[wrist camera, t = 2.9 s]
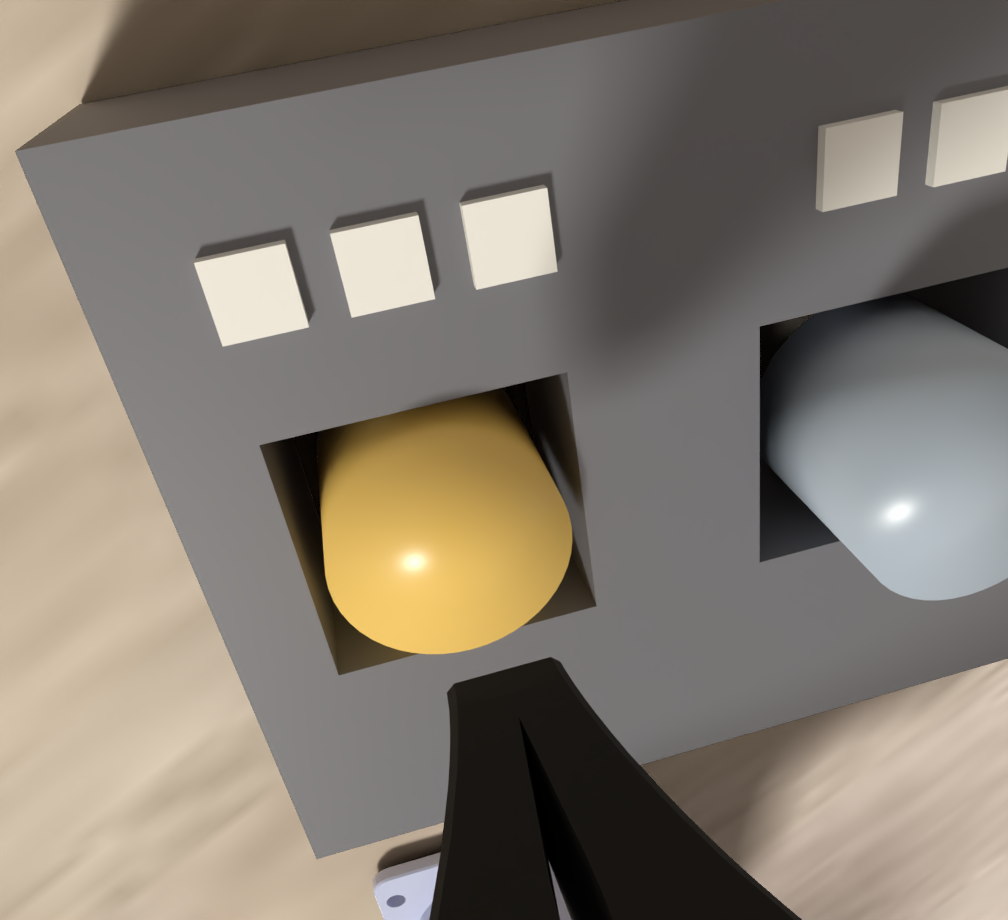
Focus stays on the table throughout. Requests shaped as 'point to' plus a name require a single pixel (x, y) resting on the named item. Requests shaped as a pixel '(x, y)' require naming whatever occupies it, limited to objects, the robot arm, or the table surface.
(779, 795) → the table surface
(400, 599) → the button three
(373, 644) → the button panel
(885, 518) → the button two
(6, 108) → the table surface
